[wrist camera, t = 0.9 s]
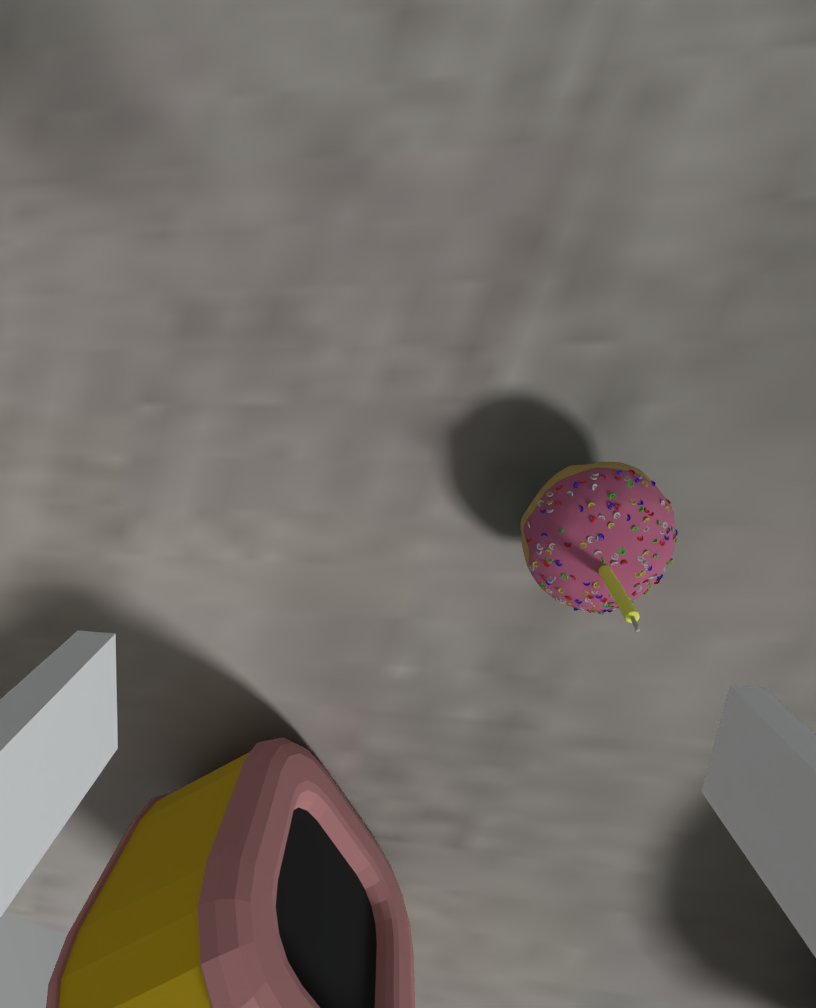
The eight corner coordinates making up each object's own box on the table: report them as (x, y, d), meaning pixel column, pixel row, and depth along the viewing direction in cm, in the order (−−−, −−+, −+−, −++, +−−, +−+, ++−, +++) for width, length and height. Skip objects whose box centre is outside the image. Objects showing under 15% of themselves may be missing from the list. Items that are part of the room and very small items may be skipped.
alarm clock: (419, 888, 44) (436, 1278, 26) (293, 949, 46) (221, 1365, 27) (284, 695, 40) (186, 991, 22) (149, 767, 42) (-54, 1108, 23)
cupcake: (617, 591, 39) (712, 691, 27) (491, 566, 38) (533, 657, 27) (658, 464, 37) (778, 513, 25) (526, 436, 37) (587, 473, 25)
